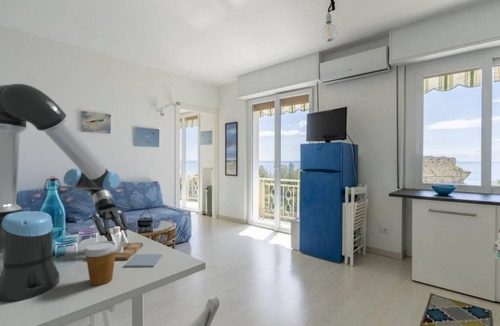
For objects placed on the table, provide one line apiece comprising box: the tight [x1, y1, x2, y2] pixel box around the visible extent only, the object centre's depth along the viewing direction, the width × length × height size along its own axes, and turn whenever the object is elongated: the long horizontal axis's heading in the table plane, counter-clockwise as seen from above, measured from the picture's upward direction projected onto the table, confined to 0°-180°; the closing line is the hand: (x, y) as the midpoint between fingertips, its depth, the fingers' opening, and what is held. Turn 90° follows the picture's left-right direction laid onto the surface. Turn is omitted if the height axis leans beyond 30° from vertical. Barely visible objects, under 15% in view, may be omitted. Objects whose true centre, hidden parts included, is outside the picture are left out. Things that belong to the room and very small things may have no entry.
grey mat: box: [123, 253, 163, 268], centre depth 100 cm, size 11×11×1 cm
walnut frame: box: [115, 242, 144, 261], centre depth 109 cm, size 16×16×2 cm
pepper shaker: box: [112, 226, 124, 253], centre depth 108 cm, size 5×5×11 cm
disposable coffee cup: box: [83, 240, 117, 287], centre depth 84 cm, size 10×10×12 cm
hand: (120, 245), depth 106 cm, fingers closed on pepper shaker, 4 cm apart
